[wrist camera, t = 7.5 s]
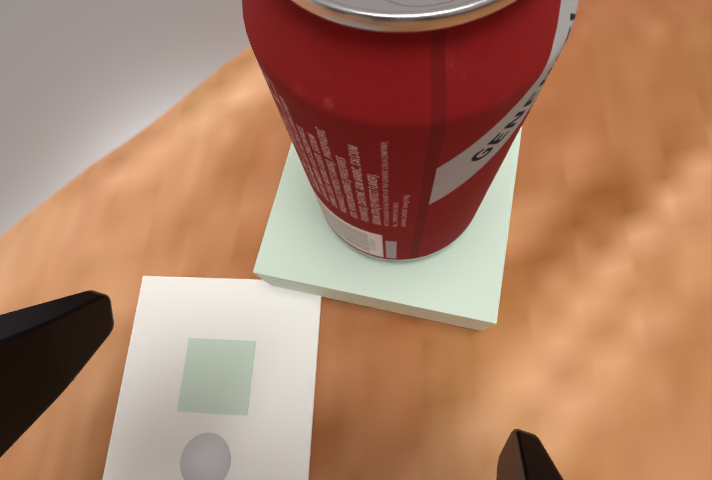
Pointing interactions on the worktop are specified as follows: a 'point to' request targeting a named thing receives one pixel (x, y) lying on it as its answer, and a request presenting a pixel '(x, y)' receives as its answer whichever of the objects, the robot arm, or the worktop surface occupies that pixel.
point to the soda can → (404, 105)
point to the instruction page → (217, 382)
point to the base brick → (384, 277)
